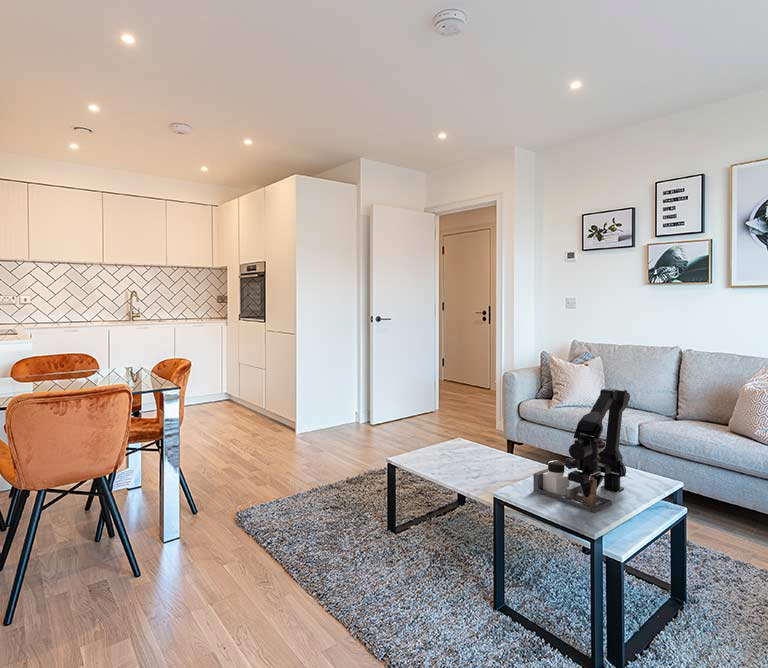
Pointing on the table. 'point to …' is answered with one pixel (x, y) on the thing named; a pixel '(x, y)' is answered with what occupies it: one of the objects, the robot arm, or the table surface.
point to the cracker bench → (539, 489)
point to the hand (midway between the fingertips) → (589, 495)
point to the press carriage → (578, 494)
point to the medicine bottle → (556, 478)
